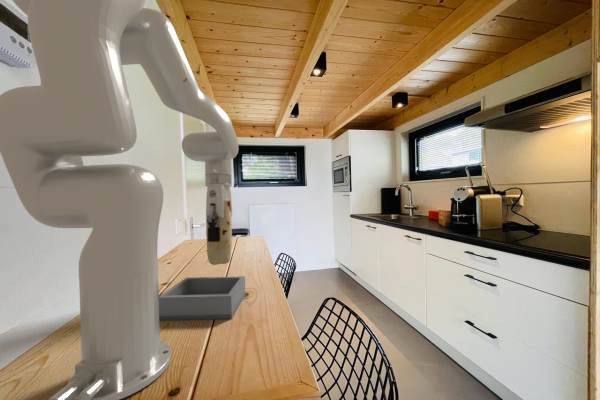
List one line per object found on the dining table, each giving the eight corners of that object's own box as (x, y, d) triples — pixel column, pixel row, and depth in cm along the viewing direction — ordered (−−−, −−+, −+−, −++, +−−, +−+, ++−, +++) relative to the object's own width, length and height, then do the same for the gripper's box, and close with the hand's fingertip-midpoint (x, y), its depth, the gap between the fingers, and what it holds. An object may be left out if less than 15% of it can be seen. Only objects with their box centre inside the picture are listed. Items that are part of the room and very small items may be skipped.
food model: (238, 263, 70) (236, 195, 71) (216, 268, 66) (215, 195, 66) (222, 258, 77) (221, 197, 78) (201, 262, 73) (200, 197, 73)
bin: (231, 318, 52) (231, 295, 52) (158, 320, 52) (157, 297, 52) (245, 294, 65) (244, 276, 65) (186, 295, 65) (186, 277, 65)
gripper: (221, 178, 63) (222, 243, 63) (238, 183, 81) (239, 235, 80) (193, 178, 63) (194, 244, 63) (216, 184, 81) (217, 235, 80)
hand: (219, 239), depth 72 cm, fingers closed on food model, 8 cm apart
